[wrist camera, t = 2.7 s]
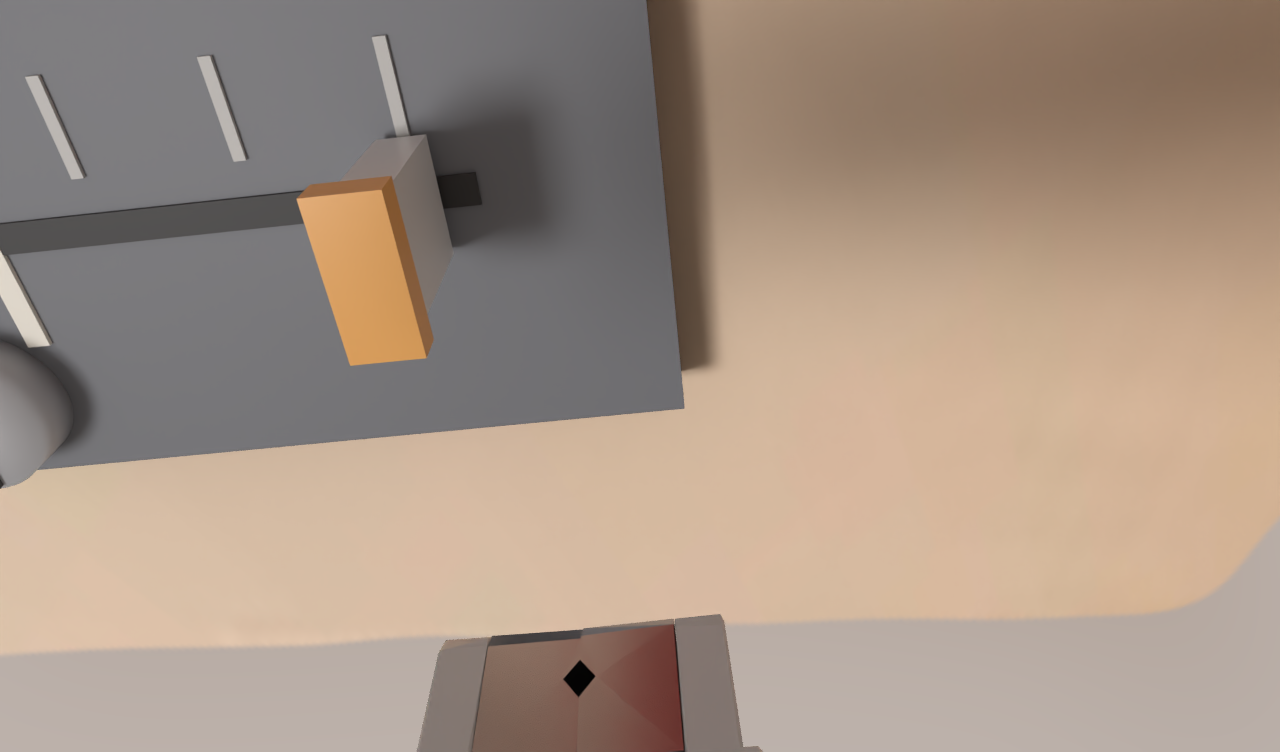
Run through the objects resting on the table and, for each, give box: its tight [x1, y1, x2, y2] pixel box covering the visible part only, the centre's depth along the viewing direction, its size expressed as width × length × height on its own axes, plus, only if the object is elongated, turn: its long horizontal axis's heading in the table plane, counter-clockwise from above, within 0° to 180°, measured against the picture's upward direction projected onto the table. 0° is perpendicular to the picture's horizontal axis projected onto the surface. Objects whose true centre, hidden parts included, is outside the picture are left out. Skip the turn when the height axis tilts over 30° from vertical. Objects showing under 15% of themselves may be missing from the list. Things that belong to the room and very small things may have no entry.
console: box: [0, 0, 684, 489], centre depth 22 cm, size 22×14×4 cm, turn 96°
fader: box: [297, 134, 454, 366], centre depth 19 cm, size 2×4×5 cm, turn 6°
